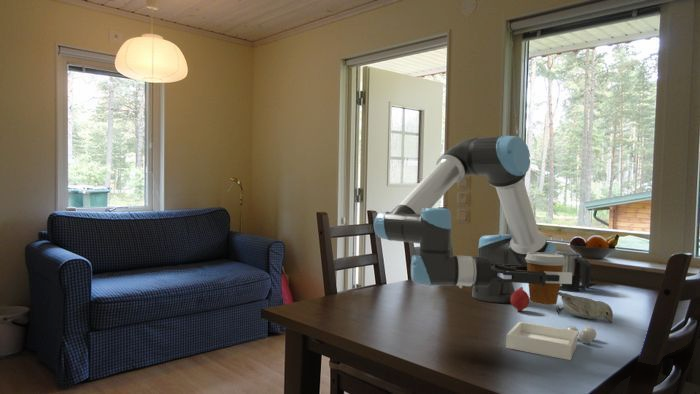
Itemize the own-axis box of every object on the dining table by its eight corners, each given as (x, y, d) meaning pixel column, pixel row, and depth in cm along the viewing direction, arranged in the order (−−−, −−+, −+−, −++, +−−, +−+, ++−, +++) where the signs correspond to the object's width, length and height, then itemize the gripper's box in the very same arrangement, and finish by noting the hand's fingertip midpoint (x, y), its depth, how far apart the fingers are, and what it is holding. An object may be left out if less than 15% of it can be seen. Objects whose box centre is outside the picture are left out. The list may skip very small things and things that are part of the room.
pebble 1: (564, 338, 128) (565, 326, 128) (566, 335, 131) (566, 324, 131) (577, 341, 126) (578, 329, 126) (579, 338, 129) (579, 326, 129)
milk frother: (551, 289, 196) (552, 252, 195) (564, 284, 207) (565, 249, 207) (589, 295, 186) (590, 256, 186) (600, 289, 198) (601, 253, 198)
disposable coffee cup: (522, 303, 119) (524, 254, 119) (524, 296, 128) (525, 250, 127) (564, 308, 115) (566, 258, 115) (563, 300, 124) (565, 253, 124)
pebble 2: (578, 343, 124) (578, 331, 124) (579, 340, 127) (579, 328, 127) (591, 346, 122) (592, 333, 122) (592, 343, 125) (593, 330, 125)
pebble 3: (581, 340, 127) (581, 327, 127) (582, 337, 130) (583, 324, 130) (595, 342, 125) (596, 329, 125) (596, 339, 128) (597, 326, 128)
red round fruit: (519, 314, 153) (520, 289, 153) (506, 309, 158) (507, 285, 158) (532, 312, 155) (533, 287, 155) (519, 308, 161) (520, 284, 160)
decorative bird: (611, 325, 144) (612, 300, 144) (553, 316, 153) (554, 292, 153) (613, 321, 148) (614, 297, 148) (557, 312, 157) (558, 290, 157)
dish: (505, 347, 119) (506, 334, 119) (518, 333, 132) (519, 321, 131) (570, 360, 111) (571, 345, 111) (577, 343, 124) (578, 331, 124)
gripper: (463, 278, 132) (546, 281, 132) (482, 295, 111) (582, 299, 111) (464, 251, 132) (547, 254, 132) (483, 262, 111) (583, 266, 111)
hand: (563, 274), depth 121 cm, fingers closed on disposable coffee cup, 8 cm apart
